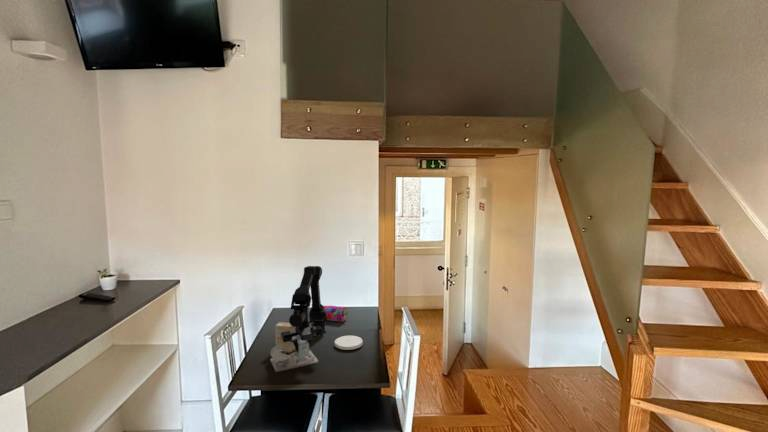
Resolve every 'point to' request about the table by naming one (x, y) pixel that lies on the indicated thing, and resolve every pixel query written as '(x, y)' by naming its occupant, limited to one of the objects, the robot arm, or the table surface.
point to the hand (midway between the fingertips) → (302, 351)
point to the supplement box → (279, 329)
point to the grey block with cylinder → (303, 348)
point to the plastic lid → (348, 342)
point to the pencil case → (335, 313)
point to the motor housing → (289, 359)
